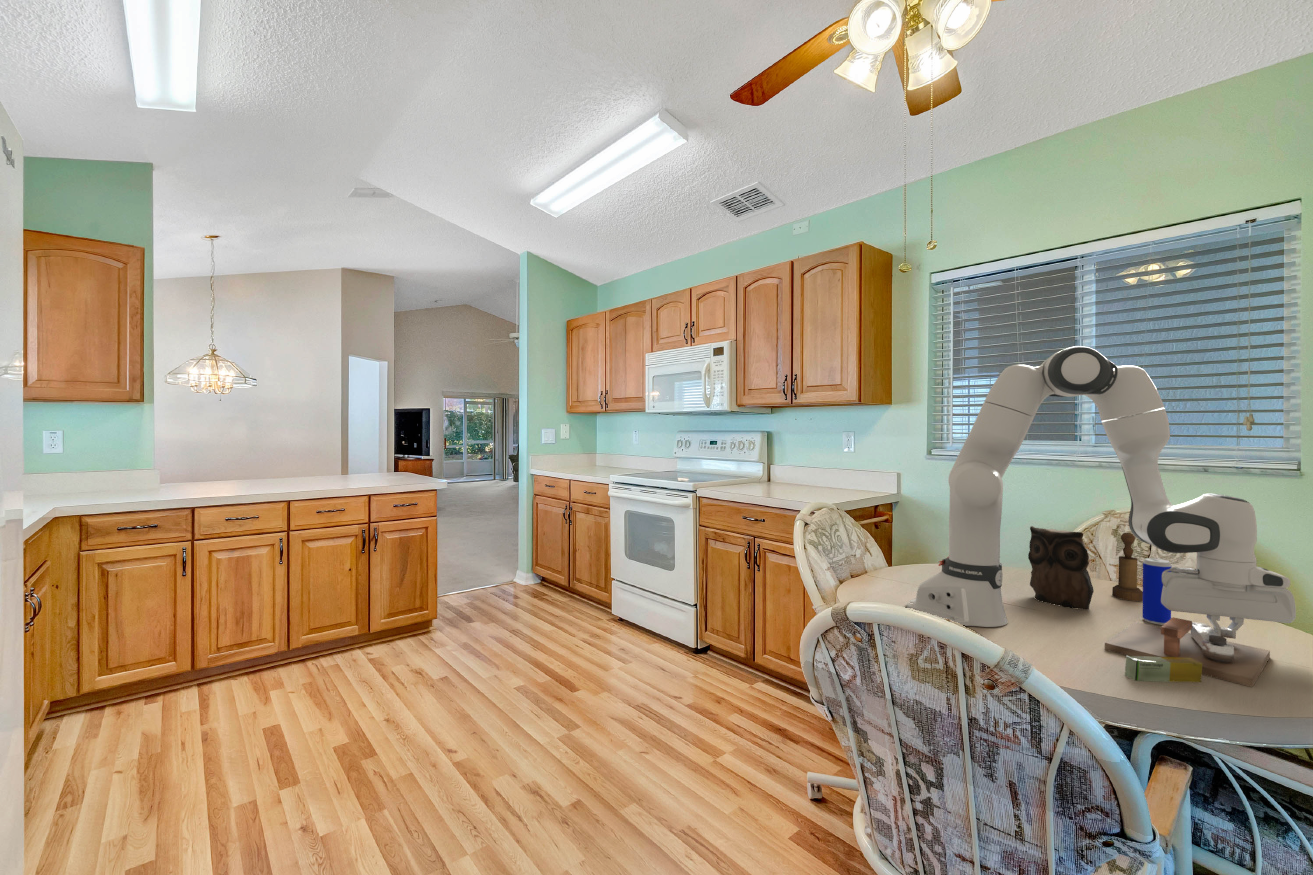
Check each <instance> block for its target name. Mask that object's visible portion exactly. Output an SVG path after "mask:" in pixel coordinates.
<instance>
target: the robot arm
mask: <svg viewBox="0 0 1313 875" xmlns="http://www.w3.org/2000/svg"><path fill="white" fill-rule="evenodd" d="M1079 396H1085V397H1087V398H1089V399H1090V401H1092V402H1093V403H1094V404H1095V407H1096V408H1097V411H1098V414H1099V418H1100V420H1101V424H1102V427H1103V429H1104V432H1105V434H1106V437H1107V438H1108V441H1109V443H1110V444H1111V447H1112V448H1113V450H1114V452H1115V454H1116V456H1117V458H1118V460H1119V463H1120V465H1121V468H1122V471H1123V475H1124V479H1125V482H1126V486H1127V489H1128V493H1129V497H1130V511H1129V515H1128V519H1127V520H1128V527H1129V530H1130V533H1132V534H1133V535H1134V536H1135V538H1137V540H1139V541H1141V542H1142V543H1145V544H1147V545H1151V546H1153V547H1155V548H1157V549H1159V550H1161V551H1163V552H1166V553H1172V554H1189V553H1196V566H1195V567H1196V568H1188V567H1187V568H1185V567H1184V568H1179V567H1176V566H1174V567H1172V568H1170V569H1167V570H1165V571H1164V572H1163V573H1162V584H1163V589H1162V594H1161V603H1162V604H1163V605H1164V606H1165V607H1166V608H1167V609H1169V610H1170V611H1171V612H1178V613H1189V614H1198V615H1206V618H1207V620H1208V622H1209V623H1210V624H1211V626H1212V627H1213V628H1212V629H1213V630H1214V631H1215V632H1216V633H1217V634H1218V635H1219V636H1220V637H1224V638H1226V639H1237V638H1236V637H1237V631H1238V630H1239V629H1240V628H1241V627H1242V626H1243V625H1244V620H1254V621H1263V622H1264V621H1265V622H1271V623H1272V622H1273V623H1283V624H1291V623H1292V622H1294V621H1295V620H1296V617H1297V611H1296V601H1295V600H1296V599H1295V597H1294V594H1293V593H1292V591H1290V590H1289V589H1288V588H1289V587H1290V586H1291V579H1290V578H1289V577H1287V576H1285V575H1282V574H1281V573H1278V572H1275V571H1272V570H1270V569H1267V568H1265V567H1261V566H1257V562H1258V561H1257V557H1256V555H1255V546H1256V543H1257V540H1258V530H1257V529H1258V527H1257V517H1256V511H1255V508H1254V506H1253V504H1251V503H1250V502H1249V501H1247V500H1246V499H1244V498H1239V497H1234V496H1232V495H1231V496H1230V495H1226V494H1225V495H1224V494H1219V493H1211V492H1207V493H1202V495H1200V496H1198V497H1196V498H1194V499H1192V500H1189V501H1186V502H1183V503H1179V504H1175V505H1174V504H1173V503H1172V502H1171V500H1169V499H1168V498H1169V497H1168V496H1167V493H1166V490H1165V486H1164V482H1163V479H1162V476H1161V473H1160V469H1159V468H1160V467H1159V464H1158V462H1159V456H1160V454H1161V452H1162V450H1163V449H1164V448H1165V446H1166V445H1167V444H1168V443H1169V440H1170V438H1171V432H1170V422H1169V418H1168V414H1167V411H1166V408H1165V405H1164V402H1163V400H1162V398H1161V395H1160V393H1159V391H1158V389H1157V387H1156V385H1155V384H1154V382H1153V381H1152V378H1151V377H1150V376H1149V374H1148V373H1147V372H1146V370H1145V369H1143V368H1141V367H1140V366H1136V365H1116V364H1115V363H1114V362H1112V361H1111V360H1109V359H1108V358H1107V357H1105V356H1104V355H1103V354H1102V353H1100V351H1098V350H1096V349H1094V348H1092V347H1089V346H1083V345H1080V346H1079V345H1075V346H1070V347H1065V348H1064V349H1062V350H1059V351H1056V352H1055V353H1053V354H1052V355H1050V356H1049V357H1047V359H1045V360H1044V361H1043V362H1041V363H1040V364H1039V365H1037V366H1031V365H1027V364H1012V365H1009V366H1007V367H1006V368H1004V369H1003V371H1001V373H1000V374H999V376H998V377H997V379H996V380H995V381H994V383H993V384H992V386H991V388H990V389H989V391H988V393H987V395H986V397H985V399H984V402H983V404H982V405H981V407H980V409H979V413H978V414H977V417H976V419H975V421H974V423H973V425H972V427H971V429H970V432H969V434H968V436H967V437H966V439H965V441H964V443H963V445H962V447H961V449H960V451H959V452H958V453H959V454H958V455H957V458H955V461H954V464H953V466H952V467H951V470H950V472H949V474H948V485H949V514H948V515H949V516H948V521H949V522H948V556H947V557H946V558H944V559H941V560H940V561H938V563H939V564H938V567H940V566H941V571H940V572H937V573H936V574H935V575H932V576H931V577H929V578H927V579H926V580H923V581H922V582H921V583H920V584H919V586H918V587H917V591H916V595H915V596H916V597H915V598H912V599H910V600H908V602H910V603H913V604H910V603H908V602H907V603H906V609H907V608H913V609H915V610H919V611H923V612H927V613H930V614H932V615H937V616H939V617H942V618H947V619H949V620H952V621H954V622H958V623H960V624H962V625H965V626H964V627H967V626H968V627H970V626H972V627H985V628H995V627H1003V626H1006V625H1007V623H1008V619H1007V616H1006V612H1005V608H1004V602H1003V596H1002V586H1003V564H1002V563H1001V523H1002V514H1003V511H1002V510H1003V497H1004V496H1003V495H1004V494H1003V493H1004V482H1003V477H1004V476H1005V473H1006V471H1007V469H1008V468H1009V466H1010V464H1011V463H1012V461H1013V459H1014V457H1015V456H1016V454H1017V452H1019V451H1020V448H1021V446H1022V443H1023V442H1024V440H1025V438H1026V435H1027V434H1028V431H1029V429H1030V427H1031V425H1032V422H1034V419H1035V417H1036V414H1037V412H1038V410H1039V407H1040V406H1041V404H1042V403H1043V401H1044V400H1045V399H1046V398H1048V397H1055V398H1057V397H1059V398H1065V397H1070V398H1072V397H1073V398H1074V397H1079ZM1168 571H1171V572H1168ZM1221 617H1223V618H1225V617H1226V618H1229V620H1230V621H1231V623H1230V624H1229V625H1228V626H1227V627H1225V626H1220V624H1219V623H1218V622H1220V621H1221ZM1008 624H1009V623H1008Z"/></svg>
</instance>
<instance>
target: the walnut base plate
mask: <svg viewBox="0 0 1313 875" xmlns="http://www.w3.org/2000/svg"><path fill="white" fill-rule="evenodd" d="M1192 622H1193V621H1192V620H1187V619H1183V618H1178V617H1174V616H1173V617H1171V619H1170V620H1169V621H1168V622H1166V623H1165V624H1164V625H1160V626H1157V625H1154V624H1148V623H1142V622H1139V621H1138V622H1137V621H1134V622H1132V623H1130V624H1129V625H1127V627H1124V629H1122V630H1121V631H1119V632H1118V633H1117V634H1115V635H1113V636H1112V637H1111V638H1110V639H1108V640H1107V641H1105V642H1104V651H1108V652H1113V653H1116V654H1119V655H1123V656H1149V657H1185V658H1192V659H1194V660H1196V661H1198V662H1200V663H1202V676H1206V677H1211V678H1215V679H1220V680H1223V681H1225V682H1231V683H1234V684H1238V685H1242V686H1247V687H1251V688H1253V686H1254V685H1255V683H1256V681H1258V679H1259V677H1260V675H1261V673H1262V672H1261V671H1263V670H1264V668H1265V667H1264V666H1266V665H1267V664H1268V662H1267V661H1269V660H1270V659H1271V651H1270V649H1264V648H1261V647H1260V648H1259V647H1255V646H1251V645H1246V644H1241V643H1236V642H1233V641H1232V642H1231V641H1229V640H1228V638H1225V637H1220V636H1215V635H1210V636H1209V642H1211V643H1214V644H1219V645H1226V643H1227V644H1230V645H1232V646H1233V647H1234V661H1220V660H1215V659H1211V658H1208V657H1206V656H1204V655H1202V648H1201V647H1200V646H1199V644H1198V643H1197V642H1196V641H1195V639H1194V638H1193V637H1192V636H1191V629H1192ZM1189 632H1190V633H1189ZM1227 640H1228V641H1227ZM1258 676H1259V677H1258Z"/></svg>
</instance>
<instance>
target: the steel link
mask: <svg viewBox="0 0 1313 875" xmlns="http://www.w3.org/2000/svg"><path fill="white" fill-rule="evenodd" d="M1190 634H1191V636H1192V637H1193V638H1194V639H1195V641H1196V642H1197V643H1198V644H1199V646H1200V647H1201V648H1202V655H1204V656H1206V657H1208V658H1211V659H1215V660H1220V661H1234V647H1233V646H1232V645H1230V644H1227V643H1226V645H1219V644H1214V643H1211V642H1209V636H1210V635H1215V636H1219V635H1218V634H1217V633H1216V632H1215V631H1214V630H1213V628H1212V627H1211V625H1209V624H1206V623H1203V622H1197V621H1192V629H1191V630H1190Z"/></svg>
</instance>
